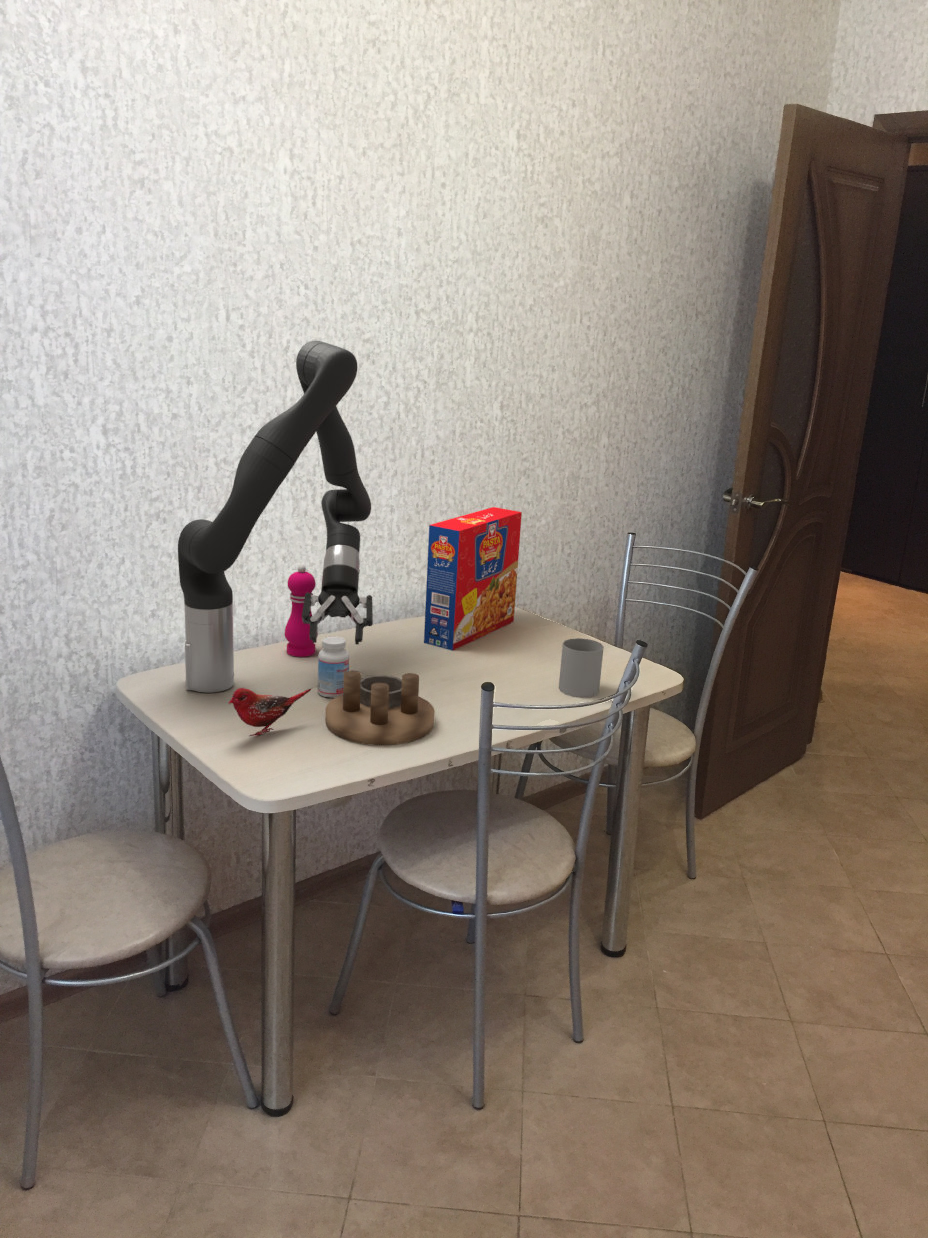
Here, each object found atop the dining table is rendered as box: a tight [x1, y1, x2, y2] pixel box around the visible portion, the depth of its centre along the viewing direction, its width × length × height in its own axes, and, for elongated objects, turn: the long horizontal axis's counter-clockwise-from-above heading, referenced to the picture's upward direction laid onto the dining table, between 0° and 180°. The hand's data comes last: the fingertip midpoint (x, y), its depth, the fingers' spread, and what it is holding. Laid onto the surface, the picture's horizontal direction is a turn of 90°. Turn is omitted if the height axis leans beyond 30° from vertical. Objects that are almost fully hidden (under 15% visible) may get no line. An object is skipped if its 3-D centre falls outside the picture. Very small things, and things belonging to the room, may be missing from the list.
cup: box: [558, 637, 604, 699], centre depth 212 cm, size 8×8×10 cm
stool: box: [324, 670, 436, 746], centre depth 190 cm, size 20×20×10 cm
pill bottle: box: [317, 636, 350, 699], centre depth 202 cm, size 6×6×11 cm
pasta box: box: [423, 506, 523, 652], centre depth 241 cm, size 28×8×28 cm, turn 148°
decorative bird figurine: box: [228, 687, 312, 737], centre depth 184 cm, size 3×18×10 cm, turn 135°
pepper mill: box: [284, 564, 319, 658], centre depth 222 cm, size 7×7×20 cm
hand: (335, 642), depth 205 cm, fingers open, 8 cm apart
